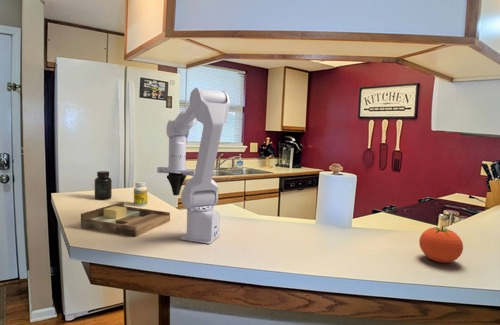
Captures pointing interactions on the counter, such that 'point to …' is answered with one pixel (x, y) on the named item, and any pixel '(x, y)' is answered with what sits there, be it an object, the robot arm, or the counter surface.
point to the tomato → (441, 244)
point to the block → (115, 212)
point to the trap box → (124, 220)
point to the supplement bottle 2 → (140, 194)
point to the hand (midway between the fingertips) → (176, 194)
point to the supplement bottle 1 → (103, 186)
